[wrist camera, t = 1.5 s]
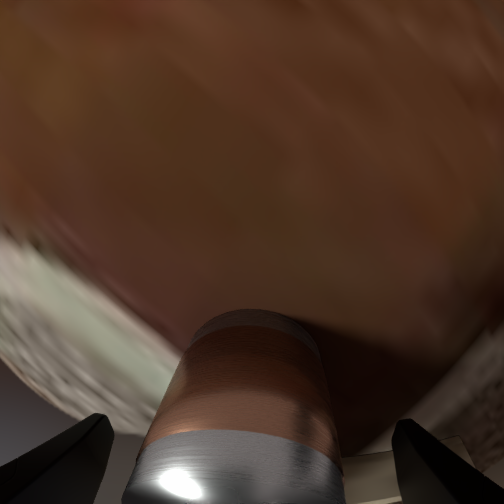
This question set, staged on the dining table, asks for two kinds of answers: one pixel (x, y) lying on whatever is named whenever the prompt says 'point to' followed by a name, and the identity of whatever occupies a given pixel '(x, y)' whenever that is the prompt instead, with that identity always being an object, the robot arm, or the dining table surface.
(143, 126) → the dining table surface
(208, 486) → the can
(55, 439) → the robot arm
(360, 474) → the beige wooden tray
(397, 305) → the dining table surface
